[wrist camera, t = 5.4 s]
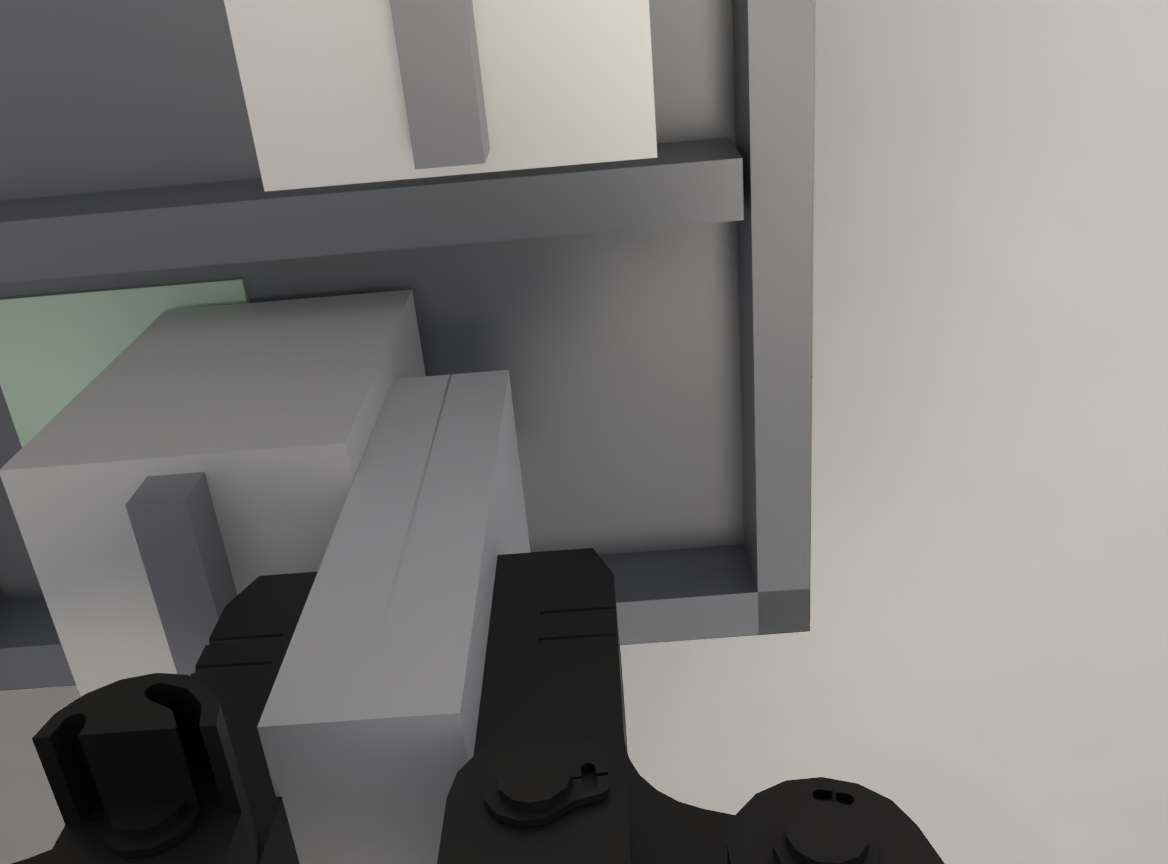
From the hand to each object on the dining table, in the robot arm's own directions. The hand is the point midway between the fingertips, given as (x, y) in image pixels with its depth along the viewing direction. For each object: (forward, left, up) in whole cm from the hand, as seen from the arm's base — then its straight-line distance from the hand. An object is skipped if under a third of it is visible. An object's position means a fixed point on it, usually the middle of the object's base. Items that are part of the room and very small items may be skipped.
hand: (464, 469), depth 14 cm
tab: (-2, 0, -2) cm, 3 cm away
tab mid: (+1, +6, -2) cm, 7 cm away
